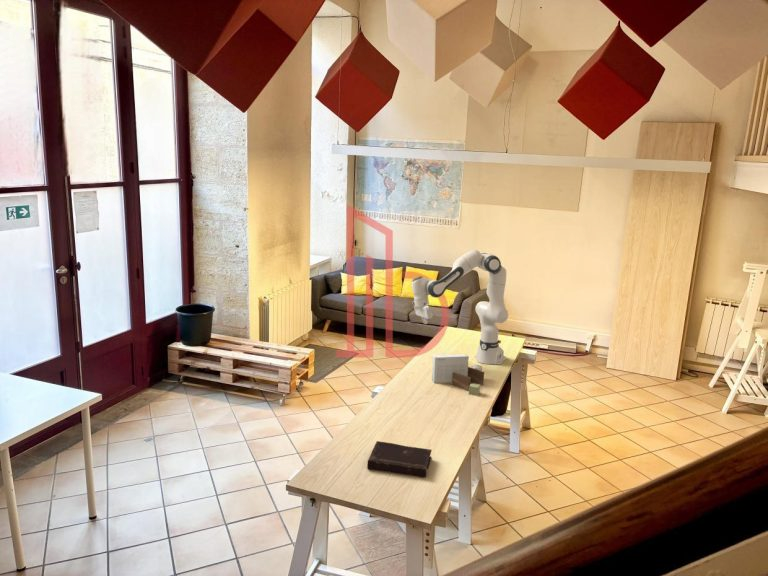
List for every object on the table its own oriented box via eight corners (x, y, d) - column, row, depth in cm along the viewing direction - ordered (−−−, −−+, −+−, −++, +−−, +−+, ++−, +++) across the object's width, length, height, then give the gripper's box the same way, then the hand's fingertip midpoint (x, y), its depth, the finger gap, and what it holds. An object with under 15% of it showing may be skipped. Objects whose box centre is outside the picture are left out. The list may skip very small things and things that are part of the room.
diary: (425, 479, 248) (426, 469, 247) (367, 471, 253) (367, 460, 252) (431, 457, 266) (432, 447, 265) (376, 450, 271) (377, 440, 270)
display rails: (466, 379, 362) (467, 366, 360) (483, 384, 354) (484, 371, 352) (451, 385, 351) (452, 372, 349) (468, 391, 343) (469, 378, 341)
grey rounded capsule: (474, 376, 366) (475, 364, 365) (483, 379, 363) (484, 366, 361) (469, 379, 362) (470, 366, 360) (477, 381, 358) (478, 369, 356)
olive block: (470, 391, 343) (471, 383, 342) (479, 393, 341) (480, 384, 340) (468, 394, 339) (469, 386, 338) (477, 396, 337) (478, 387, 336)
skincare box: (464, 378, 363) (466, 353, 359) (467, 382, 357) (469, 356, 354) (431, 380, 358) (432, 354, 355) (433, 383, 353) (435, 357, 349)
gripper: (432, 303, 369) (436, 324, 371) (420, 299, 389) (424, 320, 391) (423, 305, 367) (427, 327, 369) (411, 302, 387) (415, 322, 389)
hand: (425, 323), depth 380 cm, fingers closed
